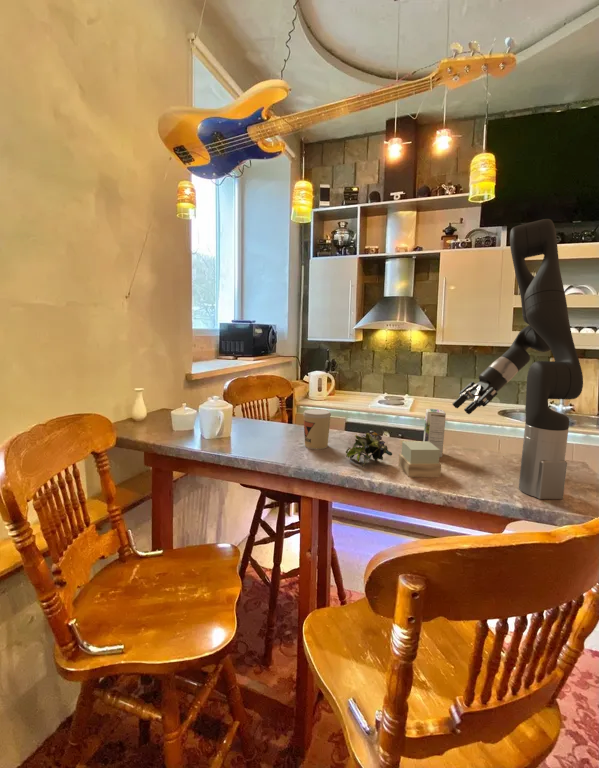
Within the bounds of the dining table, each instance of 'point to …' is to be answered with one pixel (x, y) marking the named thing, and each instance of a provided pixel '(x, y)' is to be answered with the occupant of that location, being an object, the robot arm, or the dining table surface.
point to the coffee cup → (316, 428)
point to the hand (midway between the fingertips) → (460, 409)
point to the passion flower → (368, 447)
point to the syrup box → (435, 428)
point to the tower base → (419, 469)
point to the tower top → (420, 452)
